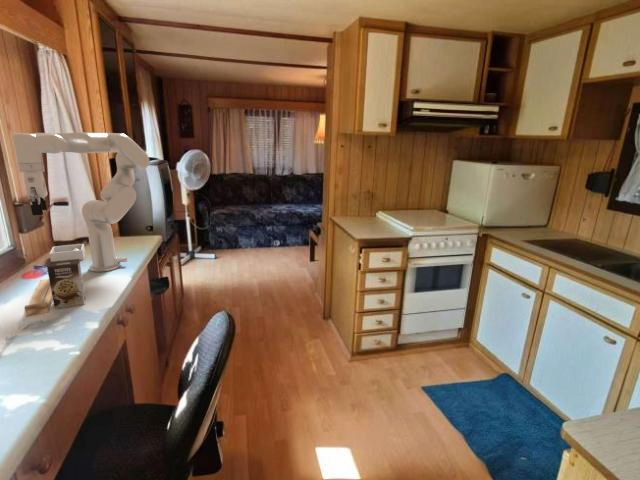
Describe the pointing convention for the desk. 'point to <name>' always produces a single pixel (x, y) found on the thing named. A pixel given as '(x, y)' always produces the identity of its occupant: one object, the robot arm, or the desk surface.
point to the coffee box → (66, 283)
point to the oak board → (40, 299)
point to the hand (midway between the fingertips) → (40, 212)
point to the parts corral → (67, 252)
